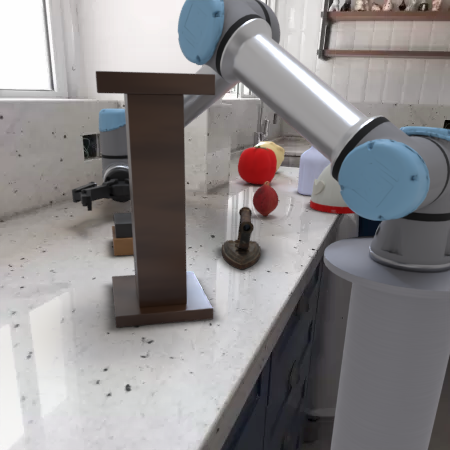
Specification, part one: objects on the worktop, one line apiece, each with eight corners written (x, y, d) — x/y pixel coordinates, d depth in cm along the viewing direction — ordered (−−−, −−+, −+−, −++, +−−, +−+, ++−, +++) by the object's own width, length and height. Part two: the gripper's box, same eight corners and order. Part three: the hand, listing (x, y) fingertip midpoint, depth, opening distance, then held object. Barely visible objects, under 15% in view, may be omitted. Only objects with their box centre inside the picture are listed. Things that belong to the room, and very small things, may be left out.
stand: (112, 285, 71) (95, 74, 59) (193, 280, 73) (191, 77, 62) (116, 327, 58) (95, 70, 47) (213, 319, 61) (215, 74, 50)
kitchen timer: (322, 214, 114) (328, 148, 109) (302, 202, 127) (306, 142, 121) (375, 212, 117) (385, 148, 111) (351, 201, 130) (358, 142, 124)
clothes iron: (259, 250, 89) (268, 201, 83) (261, 286, 80) (271, 233, 74) (221, 246, 88) (228, 196, 82) (219, 281, 79) (226, 228, 73)
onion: (261, 220, 108) (263, 184, 105) (247, 215, 113) (248, 180, 109) (282, 217, 111) (284, 182, 108) (267, 212, 115) (269, 178, 112)
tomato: (241, 187, 145) (242, 147, 141) (233, 180, 158) (234, 143, 153) (280, 187, 147) (283, 147, 143) (270, 179, 159) (272, 143, 155)
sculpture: (287, 172, 175) (290, 141, 170) (267, 175, 166) (268, 143, 162) (263, 168, 182) (264, 138, 177) (242, 172, 174) (243, 140, 169)
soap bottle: (326, 197, 134) (335, 101, 124) (294, 194, 137) (300, 100, 127) (331, 191, 141) (341, 101, 132) (301, 189, 144) (308, 100, 135)
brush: (111, 223, 104) (109, 197, 102) (139, 222, 105) (137, 196, 103) (114, 256, 83) (112, 224, 81) (149, 254, 85) (147, 223, 82)
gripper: (174, 197, 115) (190, 218, 96) (65, 201, 110) (59, 224, 91) (173, 165, 112) (190, 180, 93) (61, 167, 107) (54, 184, 88)
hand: (125, 202), depth 92 cm, fingers open, 13 cm apart
